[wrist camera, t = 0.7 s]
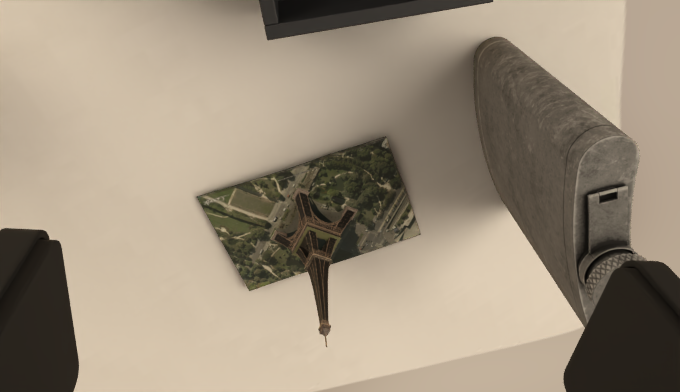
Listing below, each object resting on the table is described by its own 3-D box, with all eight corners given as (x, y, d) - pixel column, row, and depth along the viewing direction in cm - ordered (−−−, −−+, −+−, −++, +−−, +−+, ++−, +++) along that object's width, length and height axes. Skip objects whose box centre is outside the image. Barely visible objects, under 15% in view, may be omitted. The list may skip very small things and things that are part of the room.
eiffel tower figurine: (387, 128, 41) (430, 234, 29) (420, 234, 46) (467, 358, 34) (197, 194, 42) (167, 320, 31) (250, 289, 47) (242, 426, 36)
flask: (493, 212, 45) (602, 393, 30) (458, 48, 38) (580, 178, 23) (537, 199, 45) (670, 374, 30) (511, 30, 38) (670, 150, 22)
